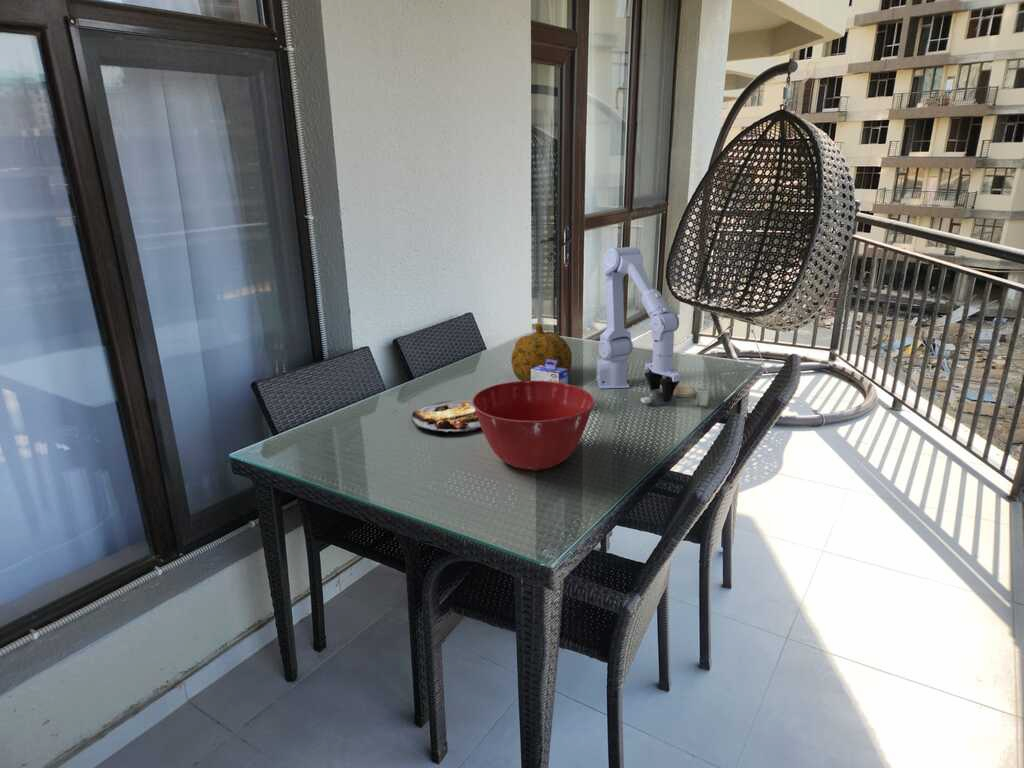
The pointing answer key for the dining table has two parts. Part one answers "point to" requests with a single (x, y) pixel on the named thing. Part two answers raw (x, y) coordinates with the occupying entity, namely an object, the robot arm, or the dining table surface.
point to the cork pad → (683, 391)
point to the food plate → (447, 416)
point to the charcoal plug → (655, 398)
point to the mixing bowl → (533, 421)
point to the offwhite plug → (702, 397)
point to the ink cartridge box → (549, 373)
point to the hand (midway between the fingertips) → (660, 398)
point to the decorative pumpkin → (539, 352)
